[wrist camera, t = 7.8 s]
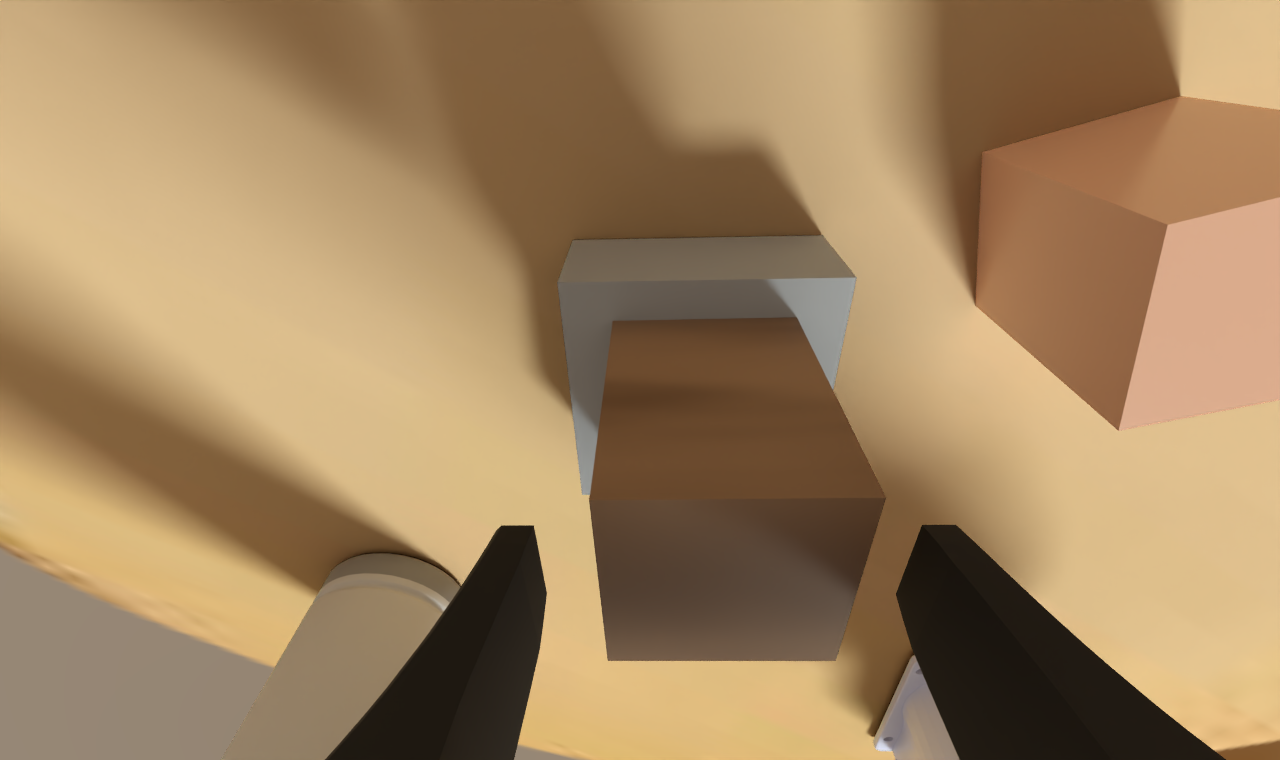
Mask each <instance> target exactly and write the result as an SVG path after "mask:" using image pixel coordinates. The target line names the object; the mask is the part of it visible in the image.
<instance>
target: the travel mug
mask: <svg viewBox="0 0 1280 760" xmlns="http://www.w3.org/2000/svg"><path fill="white" fill-rule="evenodd" d="M459 589H460V586H459V585H458V584H457V583H456V582H455V581H454V580H453V579H452V578H451V577H450V576H449V575H447V574H446V573H445V572H443V571H442V570H440V569H438V568H437V567H435V566H433V565H431V564H429V563H426V562H424V561H421V560H419V559H416V558H412V557H408V556H404V555H397V554H389V553H373V554H365V555H359V556H356V557H353V558H350V559H348V560H346V561H344V562H342V563H340V564H338V565H337V566H336V567H335V568H334V569H333V570H332V571H331V572H330V574H329V575H328V577H327V579H326V581H325V582H324V584H323V586H322V587H321V589H320V591H319V593H318V594H317V596H316V598H315V600H314V601H313V604H312V605H311V606H310V608H309V610H308V611H307V613H306V615H305V617H304V618H303V620H302V622H301V623H300V625H299V627H298V629H297V630H296V632H295V634H294V635H293V637H292V639H291V641H290V642H289V644H288V646H287V647H286V649H285V651H284V653H283V654H282V656H281V658H280V659H279V661H278V663H277V665H276V666H275V668H274V670H273V671H272V673H271V675H270V677H269V678H268V680H267V682H266V683H265V685H264V687H263V689H262V690H261V692H260V694H259V695H258V697H257V699H256V701H255V702H254V704H253V706H252V707H251V709H250V711H249V712H248V714H247V716H246V718H245V719H244V721H243V723H242V725H241V726H240V728H239V730H238V731H237V733H236V735H235V736H234V738H233V740H232V742H231V743H230V745H229V747H228V748H227V750H226V752H225V754H224V756H223V757H222V759H221V760H325V759H326V758H327V757H328V756H329V755H330V753H331V752H332V751H333V750H334V749H335V748H336V747H337V746H338V744H339V743H340V742H341V741H342V740H343V739H344V738H345V736H346V735H347V734H348V733H349V732H350V731H351V730H352V728H353V727H354V726H355V725H356V724H357V723H358V722H359V720H360V719H361V718H362V717H363V716H364V714H365V713H366V712H367V711H368V710H369V709H370V707H371V706H372V705H373V704H374V702H375V701H376V700H377V699H378V698H379V696H380V695H381V694H382V693H383V692H384V690H385V689H386V688H387V687H388V685H389V684H390V683H391V681H392V680H393V679H394V678H395V676H396V675H397V674H398V672H399V671H400V670H401V669H402V667H403V666H404V665H405V663H406V662H407V661H408V659H409V658H410V657H411V656H412V654H413V653H414V652H415V650H416V649H417V648H418V646H419V645H420V644H421V643H422V641H423V640H424V639H425V637H426V636H427V634H428V633H429V632H430V630H431V629H432V628H433V626H434V625H435V623H436V622H437V620H438V619H439V618H440V616H441V615H442V613H443V612H444V610H445V609H446V608H447V606H448V605H449V603H450V602H451V601H452V599H453V598H454V596H455V595H456V593H457V592H458V590H459Z"/></svg>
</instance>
